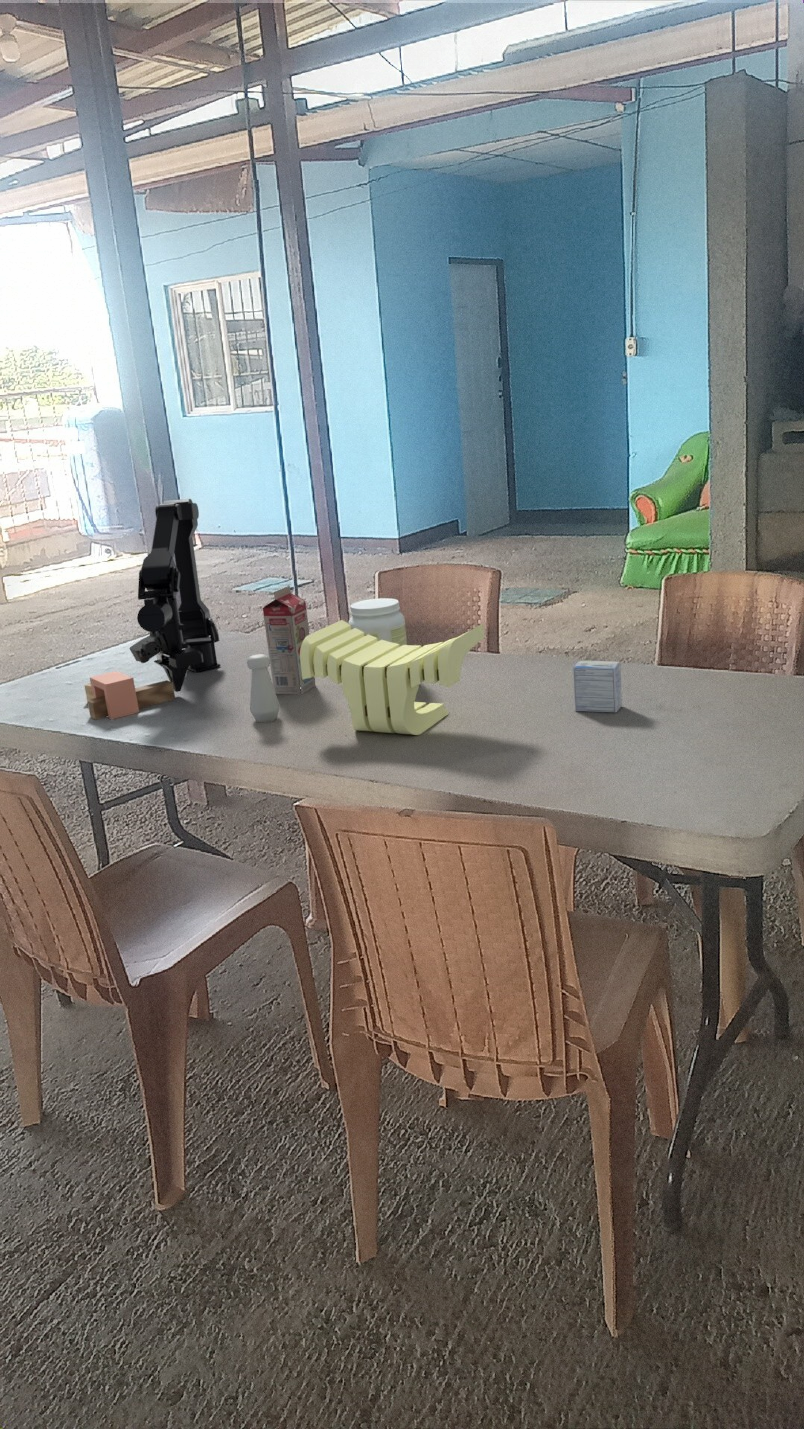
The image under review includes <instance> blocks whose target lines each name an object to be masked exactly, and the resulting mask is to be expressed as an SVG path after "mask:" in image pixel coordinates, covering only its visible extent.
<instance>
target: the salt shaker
mask: <svg viewBox="0 0 804 1429" xmlns="http://www.w3.org/2000/svg"><path fill="white" fill-rule="evenodd" d="M246 661H247V662H246V664H247V668H248V669H249V670H251V679H250V680H251V681H250V683H251V684H250V697H249V698H250V699H249V711H250V714H251V715H252V716H253V718H254V720H255V721H256V723H262V724H265V723H270V722H271V723H272V722H274V721H275V720H276V719H278V715H279V712H280V708H281V707H280V703H279V698H278V697H277V694H276V693H275V690H274V687H273V683H272V676H271V675H270V671H269V669H268V667H269V666H270V660H269V655H266V654H263V653H260V654H259V653H258V654H253V655H251V656H249V657H248V658H247V660H246Z"/></svg>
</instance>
